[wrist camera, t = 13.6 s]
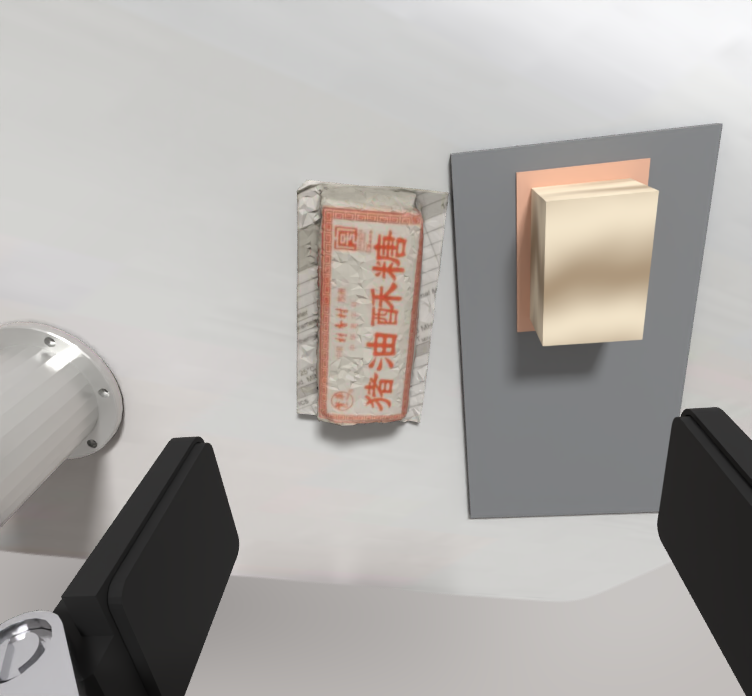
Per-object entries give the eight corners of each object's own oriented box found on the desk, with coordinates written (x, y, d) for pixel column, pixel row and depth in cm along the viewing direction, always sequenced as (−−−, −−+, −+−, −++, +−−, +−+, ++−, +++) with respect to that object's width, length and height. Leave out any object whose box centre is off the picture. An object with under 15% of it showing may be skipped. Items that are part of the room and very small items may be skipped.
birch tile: (531, 188, 34) (546, 201, 30) (630, 178, 33) (659, 190, 29) (529, 318, 38) (542, 346, 34) (618, 312, 37) (642, 339, 33)
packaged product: (284, 189, 32) (452, 203, 31) (300, 177, 36) (448, 188, 36) (286, 438, 40) (420, 452, 39) (299, 404, 44) (420, 415, 44)
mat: (470, 513, 47) (471, 519, 46) (450, 153, 34) (451, 155, 34) (662, 506, 45) (666, 513, 45) (717, 123, 32) (724, 124, 32)
